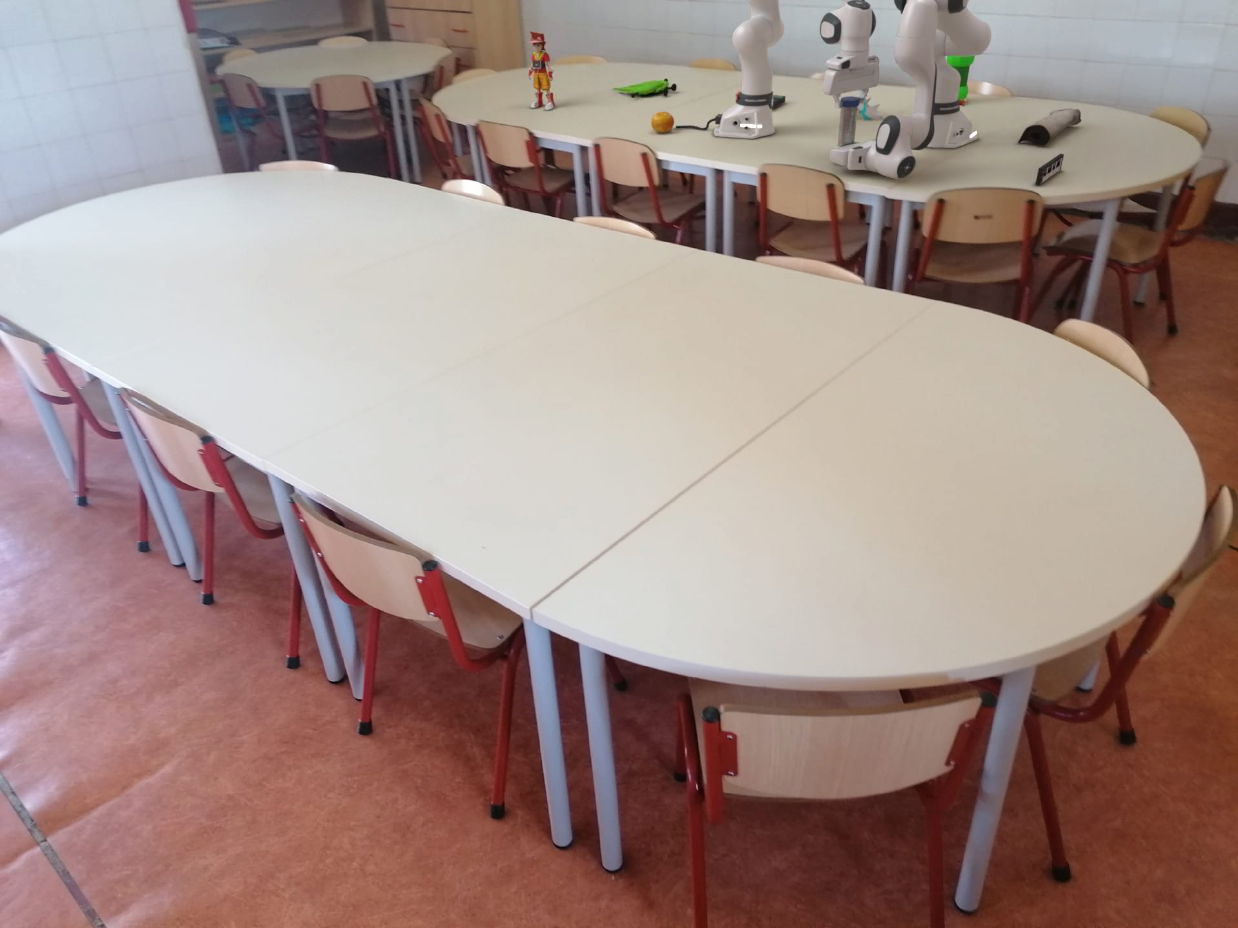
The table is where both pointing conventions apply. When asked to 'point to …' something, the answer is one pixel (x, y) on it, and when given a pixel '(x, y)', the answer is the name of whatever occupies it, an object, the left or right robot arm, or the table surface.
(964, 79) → the green dumbbell
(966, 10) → the right robot arm
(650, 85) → the toy
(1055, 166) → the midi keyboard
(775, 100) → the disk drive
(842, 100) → the lid
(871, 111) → the anatomical model
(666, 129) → the fruit
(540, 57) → the toy
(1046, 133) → the rolled mat
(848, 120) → the jar
